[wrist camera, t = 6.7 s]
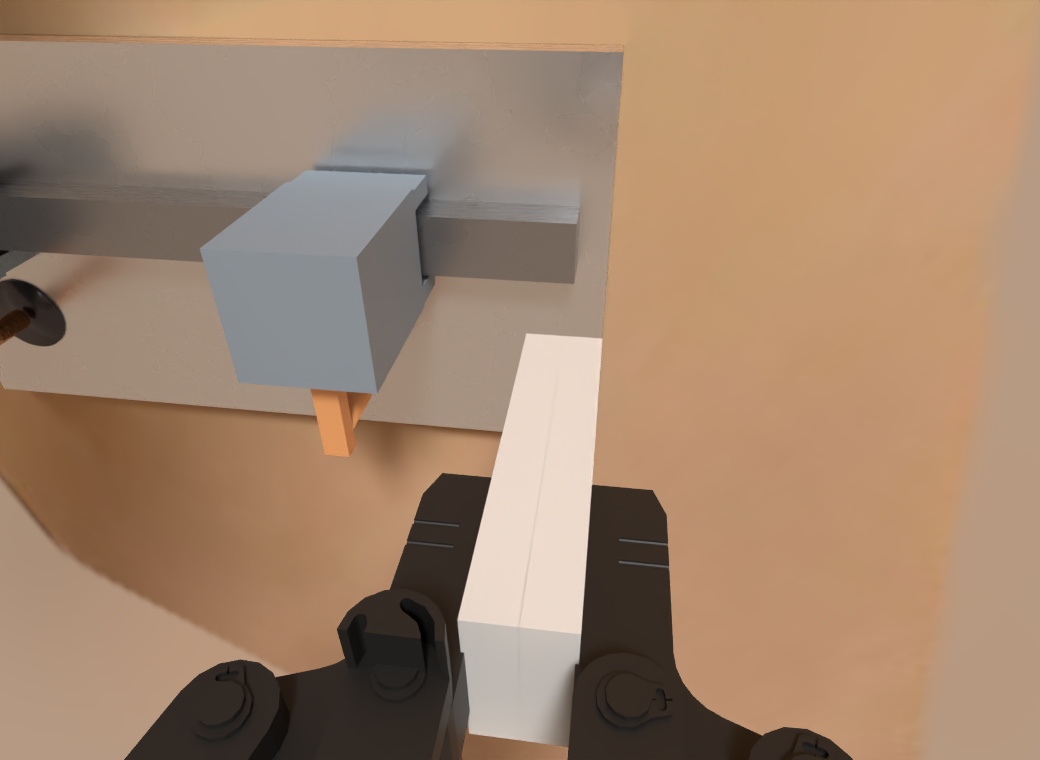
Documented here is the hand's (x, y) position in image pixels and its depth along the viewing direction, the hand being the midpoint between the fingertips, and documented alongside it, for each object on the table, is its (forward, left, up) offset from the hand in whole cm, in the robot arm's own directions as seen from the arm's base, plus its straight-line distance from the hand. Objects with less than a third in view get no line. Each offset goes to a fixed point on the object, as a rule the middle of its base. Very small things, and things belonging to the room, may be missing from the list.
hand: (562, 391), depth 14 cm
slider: (+2, -7, -9) cm, 12 cm away
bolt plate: (+2, -12, -11) cm, 17 cm away
